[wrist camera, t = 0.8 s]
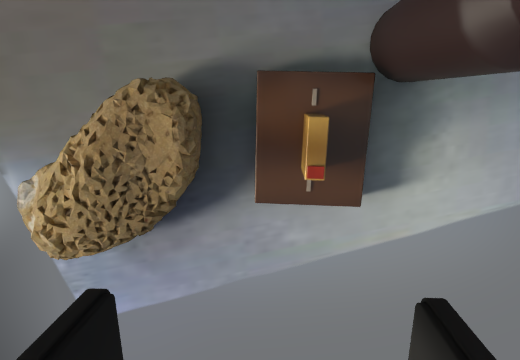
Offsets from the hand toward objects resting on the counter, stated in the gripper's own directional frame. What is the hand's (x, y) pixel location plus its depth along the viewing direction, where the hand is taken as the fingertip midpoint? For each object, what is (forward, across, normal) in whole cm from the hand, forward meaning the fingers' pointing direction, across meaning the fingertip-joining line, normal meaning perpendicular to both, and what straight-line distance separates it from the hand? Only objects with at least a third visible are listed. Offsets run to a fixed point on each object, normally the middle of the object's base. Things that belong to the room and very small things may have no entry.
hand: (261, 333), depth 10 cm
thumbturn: (+20, -4, -3) cm, 21 cm away
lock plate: (+23, -4, -3) cm, 24 cm away
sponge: (+24, +15, 0) cm, 28 cm away
